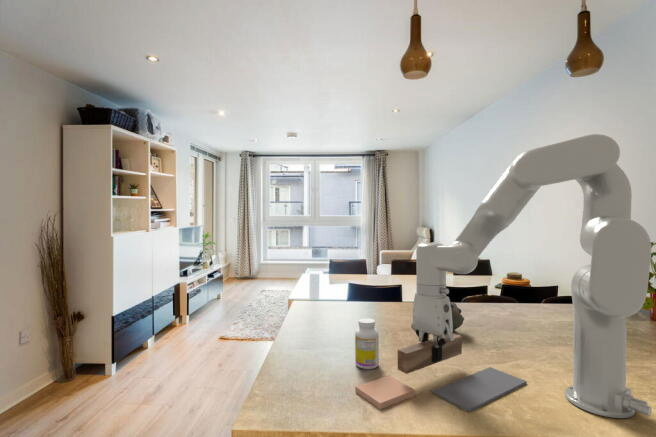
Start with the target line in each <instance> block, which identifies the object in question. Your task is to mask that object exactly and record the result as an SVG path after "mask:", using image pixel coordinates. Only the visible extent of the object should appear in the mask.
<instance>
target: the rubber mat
mask: <svg viewBox="0 0 656 437" xmlns="http://www.w3.org/2000/svg"><path fill="white" fill-rule="evenodd" d="M527 383H528V382H527V380H525V379H522V378H519V377H518V376H514V375H512V374H509V373H507V372H504V371H501V370H499V369H496V368H494V367H491V366H489V367H486V368H484V369H482V370H479V371H477V372H475V373H472V374H469V375H468V376H465V377H462V378H460V379H456V380H455V381H453V382H450V383H448V384H447V383H446V384H445V385H443V386H440V387H437V388H435V389H433V390H431V393H432V394H433V395H435V396H437V397H439V398H441V399H442V400H444V401H446V402H448V403H450V404H452V405H454V406H455V407H458V408H459V409H462V410H463V411H465V412H467V413H470V412H472V411H475V410H477V409H478V408H480V407H483V406H485V405H487V404H489V403H491V402H492V401H495V400H496V399H498V398H501V397H502V396H505V395H507V394H508V393H510V392H512V391H515V390H516V389H518V388H521V387H522V386H524V385H527Z"/></svg>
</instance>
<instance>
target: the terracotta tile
mask: <svg viewBox="0 0 656 437" xmlns="http://www.w3.org/2000/svg"><path fill="white" fill-rule="evenodd" d="M355 393H356V394H357V395H359V396H360V397H362V398H363V399H365V400H366V401H368V403H370V404H372V405H373V406H375V408H378V409H379V410H382V409H384V408H388V407H390V406H392V405H395V404H398V403H400V402H402V401H405V400H408V399H410V398H412V397H415V396H416V389H414V388H412V387H411V386H409V385H407V384H406V383H404V382H402V381H400V380H398V379H397V378H395V377H393V376H391V375H386V376H383V377H380V378H378V379H375V380H374V379H373V380H372V381H368V382H365V383H362V384H359V385H355Z"/></svg>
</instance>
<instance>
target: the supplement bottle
mask: <svg viewBox="0 0 656 437" xmlns="http://www.w3.org/2000/svg"><path fill="white" fill-rule="evenodd" d="M358 326H359V327H358V328H356V330H355V331H354V332H355V334H354V336H355V337H354V338H355V341H354V342H355V343H354V344H355V348H354V349H355V352H354V353H355V356H354V357H355V365H356V366H357V367H358V368H360V369H364V370H373V369H376V368H378V366H379V360H380V359H379V358H380V357H379V354H380V353H379V352H380V351H379V343H380V342H379V330H377V329H376V328H375V326H376V321H375V319H373V318H367V317H365V318H360V319H358Z"/></svg>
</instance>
